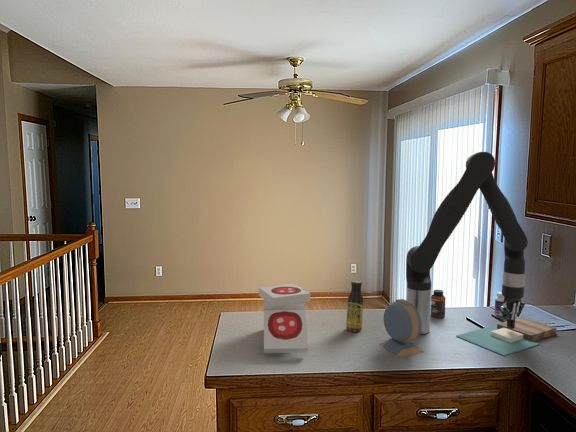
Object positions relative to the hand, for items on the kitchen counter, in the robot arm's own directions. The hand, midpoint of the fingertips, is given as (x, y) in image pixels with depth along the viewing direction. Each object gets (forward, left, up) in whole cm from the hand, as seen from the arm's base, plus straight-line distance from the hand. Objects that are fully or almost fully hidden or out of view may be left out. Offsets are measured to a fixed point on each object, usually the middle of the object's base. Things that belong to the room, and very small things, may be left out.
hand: (510, 328), depth 166 cm
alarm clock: (-44, +12, -4) cm, 46 cm away
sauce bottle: (-48, +34, -3) cm, 59 cm away
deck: (+10, 0, -3) cm, 10 cm away
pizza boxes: (-78, +37, -4) cm, 86 cm away
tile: (-3, 0, -2) cm, 3 cm away
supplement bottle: (-6, +30, -3) cm, 31 cm away
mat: (-8, 0, -3) cm, 9 cm away
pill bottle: (+20, +18, -3) cm, 27 cm away
